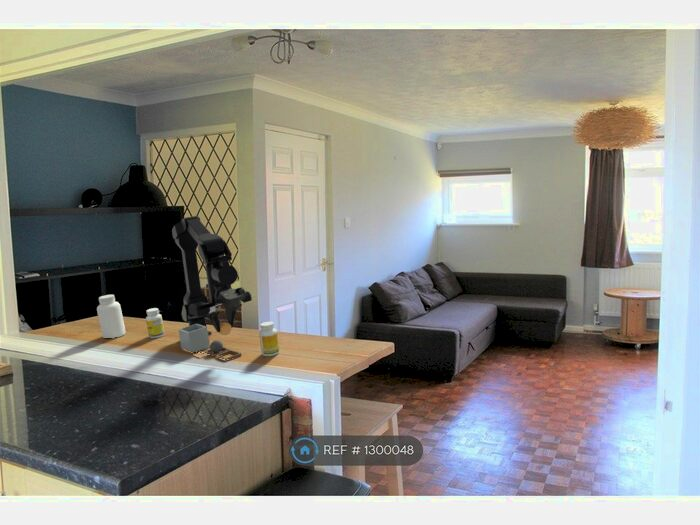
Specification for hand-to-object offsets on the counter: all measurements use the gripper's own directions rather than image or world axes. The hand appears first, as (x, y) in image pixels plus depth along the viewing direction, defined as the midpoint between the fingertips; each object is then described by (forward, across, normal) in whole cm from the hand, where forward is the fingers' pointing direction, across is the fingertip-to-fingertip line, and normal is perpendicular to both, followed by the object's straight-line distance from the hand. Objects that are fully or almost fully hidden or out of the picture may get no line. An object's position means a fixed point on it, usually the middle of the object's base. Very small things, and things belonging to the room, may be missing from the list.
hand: (224, 329), depth 169 cm
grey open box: (+9, -2, +17) cm, 19 cm away
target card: (+9, -4, +10) cm, 14 cm away
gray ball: (+9, 0, +7) cm, 11 cm away
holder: (+9, 0, +4) cm, 9 cm away
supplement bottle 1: (+9, -3, +43) cm, 44 cm away
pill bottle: (+9, -12, +59) cm, 61 cm away
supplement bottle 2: (+9, +9, -9) cm, 16 cm away
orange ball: (+2, 0, 0) cm, 2 cm away
